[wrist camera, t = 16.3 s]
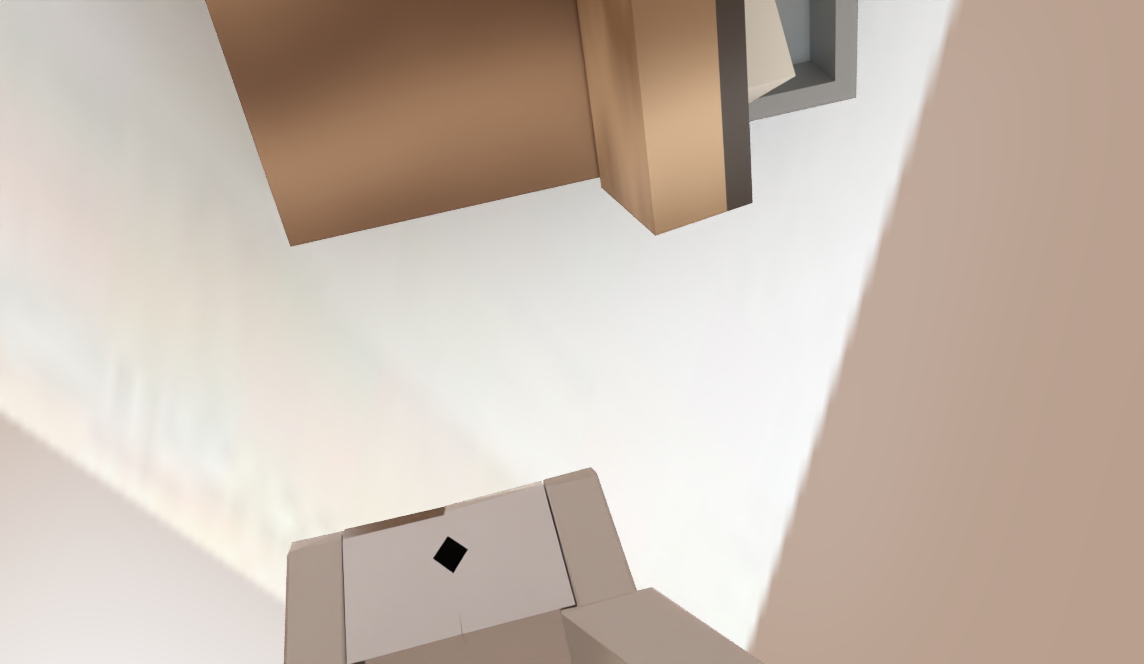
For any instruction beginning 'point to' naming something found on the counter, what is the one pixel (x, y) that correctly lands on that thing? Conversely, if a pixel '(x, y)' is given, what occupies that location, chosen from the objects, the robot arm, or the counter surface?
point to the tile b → (765, 49)
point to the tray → (814, 56)
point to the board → (407, 104)
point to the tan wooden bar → (669, 106)
